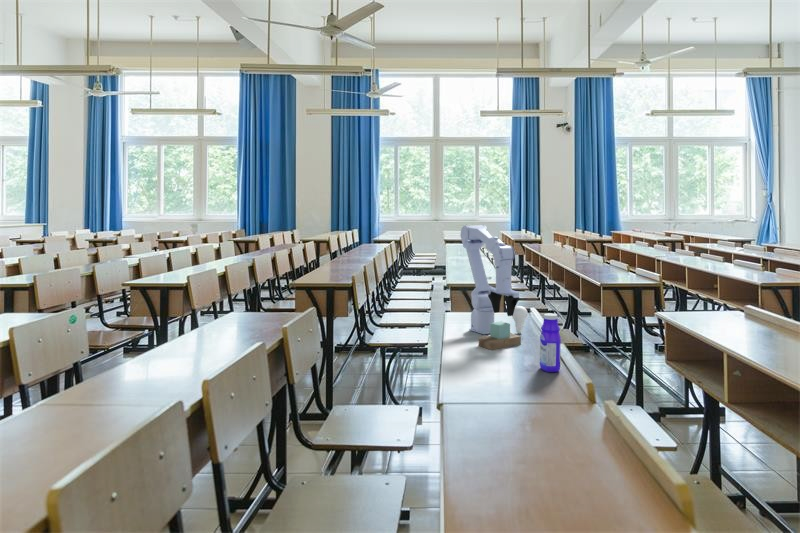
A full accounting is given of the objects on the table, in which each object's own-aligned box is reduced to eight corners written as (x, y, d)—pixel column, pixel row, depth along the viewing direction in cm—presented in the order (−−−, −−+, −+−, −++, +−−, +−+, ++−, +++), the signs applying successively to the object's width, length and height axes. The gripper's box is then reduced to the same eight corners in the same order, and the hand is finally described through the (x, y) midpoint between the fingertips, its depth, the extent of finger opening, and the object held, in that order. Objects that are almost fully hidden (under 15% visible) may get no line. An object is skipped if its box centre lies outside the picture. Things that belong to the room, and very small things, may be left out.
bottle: (536, 366, 174) (537, 312, 172) (554, 365, 175) (555, 311, 173) (544, 373, 167) (545, 317, 165) (563, 372, 168) (564, 316, 166)
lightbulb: (526, 331, 220) (526, 304, 219) (528, 335, 214) (528, 307, 213) (510, 331, 221) (511, 304, 220) (512, 335, 215) (512, 307, 214)
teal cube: (490, 336, 201) (490, 322, 201) (500, 334, 204) (501, 321, 203) (499, 339, 197) (499, 325, 197) (510, 337, 200) (510, 323, 199)
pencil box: (478, 345, 200) (478, 337, 200) (507, 340, 207) (507, 332, 207) (491, 350, 194) (491, 341, 194) (521, 344, 201) (521, 336, 201)
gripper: (482, 276, 210) (482, 312, 211) (508, 281, 197) (508, 318, 199) (496, 275, 213) (496, 310, 215) (523, 279, 201) (522, 316, 202)
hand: (503, 314), depth 207 cm, fingers open, 7 cm apart
